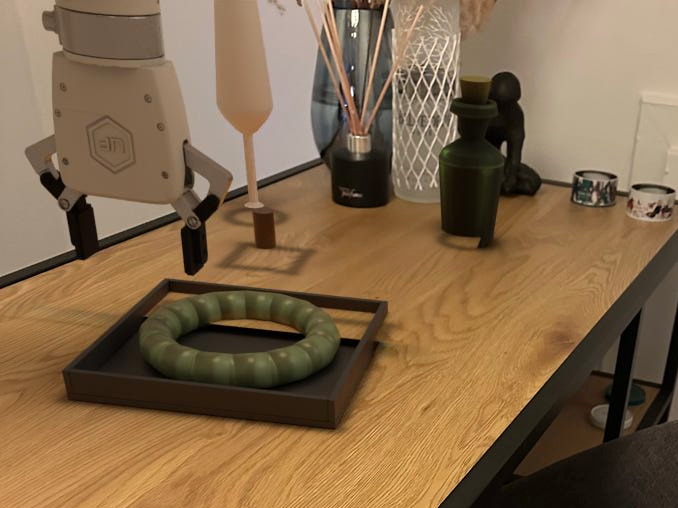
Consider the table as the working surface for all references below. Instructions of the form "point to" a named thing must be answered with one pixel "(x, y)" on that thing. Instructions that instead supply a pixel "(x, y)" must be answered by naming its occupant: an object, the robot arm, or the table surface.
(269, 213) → the post
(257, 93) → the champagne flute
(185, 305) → the ring
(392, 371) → the table surface
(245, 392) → the tray
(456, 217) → the potion bottle
